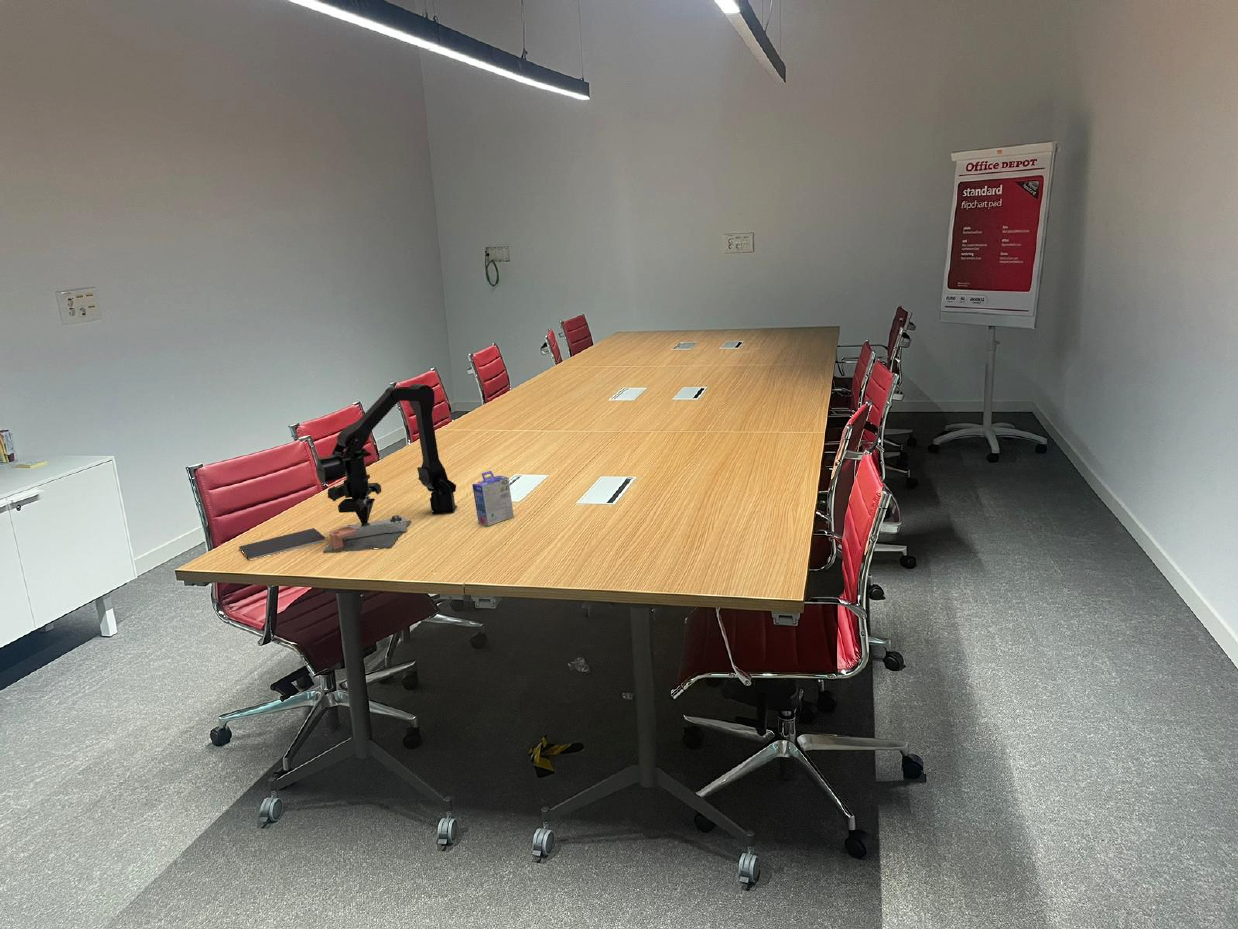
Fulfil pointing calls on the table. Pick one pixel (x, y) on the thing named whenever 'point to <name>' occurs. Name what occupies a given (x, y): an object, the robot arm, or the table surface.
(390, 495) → the table surface
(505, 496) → the ink cartridge box
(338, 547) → the keeper
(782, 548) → the table surface
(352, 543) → the pintle plate
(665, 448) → the table surface
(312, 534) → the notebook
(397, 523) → the link
